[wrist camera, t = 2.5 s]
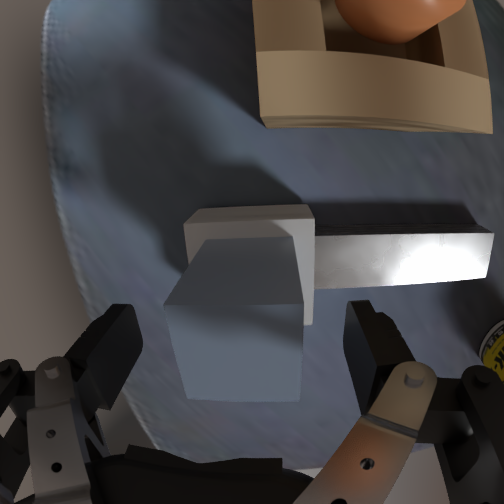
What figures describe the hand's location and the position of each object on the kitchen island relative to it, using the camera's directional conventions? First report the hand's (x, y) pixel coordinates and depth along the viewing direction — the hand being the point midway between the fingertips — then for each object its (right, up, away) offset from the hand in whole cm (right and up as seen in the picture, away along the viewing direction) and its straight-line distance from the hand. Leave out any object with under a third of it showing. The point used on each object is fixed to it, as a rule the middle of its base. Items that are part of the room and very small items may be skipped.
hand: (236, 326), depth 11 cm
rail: (+7, +3, +7) cm, 10 cm away
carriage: (+1, +3, +7) cm, 8 cm away
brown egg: (+5, +11, -4) cm, 12 cm away
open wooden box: (+5, +13, +3) cm, 14 cm away
